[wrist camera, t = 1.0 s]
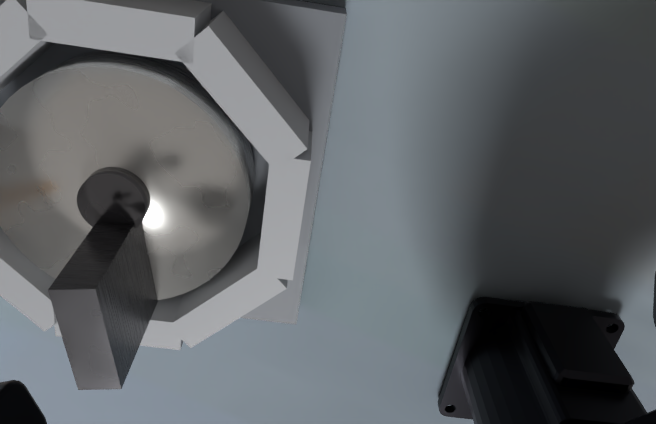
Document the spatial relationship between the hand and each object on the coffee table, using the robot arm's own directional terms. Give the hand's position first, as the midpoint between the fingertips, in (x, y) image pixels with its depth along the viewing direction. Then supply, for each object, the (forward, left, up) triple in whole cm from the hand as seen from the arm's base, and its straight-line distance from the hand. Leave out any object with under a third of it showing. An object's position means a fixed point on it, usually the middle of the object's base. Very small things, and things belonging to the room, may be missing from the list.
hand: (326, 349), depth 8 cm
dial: (-3, +6, -12) cm, 13 cm away
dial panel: (-3, +6, -13) cm, 15 cm away
